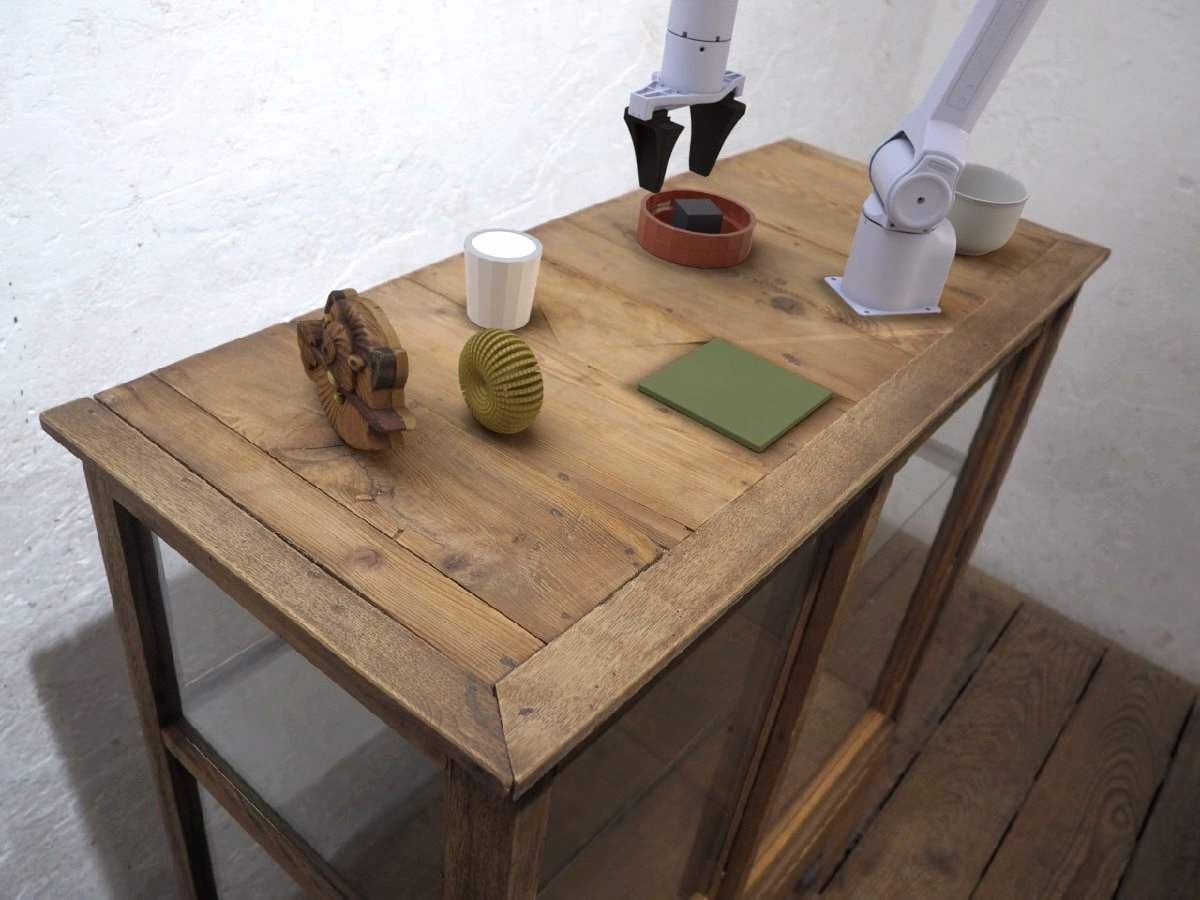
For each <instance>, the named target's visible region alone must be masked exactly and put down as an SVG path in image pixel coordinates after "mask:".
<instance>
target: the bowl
mask: <svg viewBox="0 0 1200 900" xmlns="http://www.w3.org/2000/svg"><path fill="white" fill-rule="evenodd" d="M675 199H710V200H711V201H712V202H713V203H714V204H715V206H716V207H717V208H718V209H719V210H720V211H721V212H722V213H723V214H724V216H723V221H722V226H721V231H720V234H705V233H697V232H691V231H687V230H683V229H679V228H675V227H673V226H670V225H671V219H672V214H673V208H674V202H675ZM757 223H758V221H757V218H756V214H755V212H753V211H752V210H751V209H750V208H749V206H747V205H745V204H744V203H742V202H740V201H738V200H736V199H734V198H732V197H729V196H726V195H724V194H722V193H716V192H713V191H708V190H704V189H698V188H689V187H668V188H661V190H660V192H659V193H656V194H655V193H652V192H649V193H646V194H645V195H644V196H643V197H642V198H641V199H640V201H639V207H638V213H637V221H636V226H635V240H636V241H637V242H638V244H639V245H640V247H641V248H643V249H644V250H646V251H648V252H649V253H650V254H651V255H653V256H655V257H658V258H660V259H662V260H665V261H667V262H670V263H675V264H677V265H678V264H679V265H682V266H686V267H693V268H701V269H715V268H716V269H717V268H718V269H720V268H727V267H732V266H736V265H738V264H741V263H742V262H744V261H745V260H747V258H748V257H749V255H750V253H751V249H752V247H753V246H752V245H753V241H754V237H755V233H756V229H757V228H756V227H757Z"/></svg>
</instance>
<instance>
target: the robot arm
mask: <svg viewBox="0 0 1200 900" xmlns="http://www.w3.org/2000/svg"><path fill="white" fill-rule="evenodd" d="M1049 2H1050V0H977V2H976V3H975V5H974V7H973V9H972V10H971V12H970V14H969V16H968V17H967V19H966V21H965V23H964V25H963V27H962V28H961V30H960V32H959V33H958V36H957V37H956V39H955V41H954V43H953V45H952V46H951V47H950V50H949V52H948V53H947V55H946V57H945V59H944V60H943V62H942V63H941V65H940V67H939V69H938V71H937V73H936V75H935V76H934V78H933V80H932V82H931V84H930V86H929V87H928V89H927V91H926V93H925V94H924V97H923V98H922V100H921V102H920V104H919V105H918V106H917V107H916V108H915V109H913V110H912V111H910V112H909V113H907V114H906V115H905V116H903V117H902V118H901V120H900V122H899V123H898V125H897V127H896V128H895V130H894V131H893V132H892V133H891V134H890V135H889V136H888V137H886V138H885V139H884V140H883V141H881V142H880V143H879V144H878V145H877V146H876V147H875V148H874V150H873V151H872V153H871V155H870V157H869V160H868V165H867V175H868V178H869V182H870V183H871V185H872V187H873V188H872V191H871V193H870V194H869V196H868V197H867V198H866V199H865V201H864V202H863V204H862V208H861V212H860V215H859V219H858V222H857V225H856V229H855V233H854V237H853V240H852V244H851V247H850V251H849V254H848V258H847V261H846V266H845V268H844V273H843V276H826V277H824V281H825V283H827V285H828V286H830V288H831V289H832V290H834V292H835V293H836V294H837V295H838V296H839V297H840V298H842V300H843V301H844V302H845V303H846V304H848V305H849V307H850V308H851V309H852V310H853V311H854V312H855V313H856V314H857V315H859V316H861V317H873V316H874V317H875V316H892V315H913V314H935V313H939V314H941V313H942V309H941V308H940V307H939V306H938V305H939V301H940V299H941V296H942V293H943V290H944V288H945V284H946V282H947V279H948V276H949V273H950V270H951V267H952V264H953V261H954V258H955V255H956V253H955V250H956V235H955V231H954V228H953V226H952V224H951V223H950V222H949V220H948V219H947V218H945V217H946V216H947V214H948V213H949V212H950V210H951V208H952V206H953V203H954V199H955V189H956V184H957V181H958V179H959V177H960V175H961V173H962V171H963V170H964V168H965V165H966V161H967V156H968V145H969V139H970V134H971V133H972V131H973V129H974V128H975V126H976V124H977V122H978V121H979V119H980V118H981V116H982V114H983V113H984V111H985V109H986V108H987V106H988V104H989V103H990V101H991V99H992V97H993V96H994V94H995V92H996V91H997V90H998V87H999V86H1000V84H1001V82H1002V81H1003V79H1004V77H1006V74H1007V72H1008V71H1009V69H1010V67H1011V66H1012V64H1013V62H1014V60H1015V59H1016V57H1017V55H1019V53H1020V50H1021V49H1022V47H1023V45H1024V43H1025V42H1026V40H1027V39H1028V37H1029V35H1030V34H1031V32H1032V30H1033V28H1034V27H1035V26H1036V24H1037V22H1038V20H1039V18H1040V17H1041V15H1042V14H1043V12H1044V10H1045V8H1046V7H1047V5H1048V4H1049ZM738 5H739V0H670V7H669V11H668V12H669V13H668V19H667V25H666V26H667V28H666V34H665V41H664V49H663V53H662V55H663V56H662V61H661V66H660V67H661V68H660V70H657V71H653V72H651V78H650V80H651V82H649V83H647V84H646V85H645V86H643V87H641V88H640V89H637V90H635V91H631V92H630V97H629V103H628V105H627V106H625V107H624V112H623V121H624V123H625V125H626V127H627V130H628V132H629V135H630V139H631V140H632V144H633V150H634V154H635V160H636V169H637V179H638V187H639V188H641V189H643V190H645V191H647V192H649V193H651V192H652V193H655V194H656V193H659V192H660V190H662V189H663V185H664V183H665V178H666V174H667V170H668V166H669V162H670V158H671V156H672V153H673V150H674V148H675V146H676V143H677V141H678V139H679V138H680V136H681V135H682V133H683V131H684V130H685V128H686V127H685V126H684V125H682V124H680V123H678V122H675V121H673V120H671V119H672V118H671V116H669V112H670V111H671V112H672V111H674V110H679V109H682V108H685V107H686V108H687V107H689V114H690V142H689V150H688V151H689V152H688V171H689V172H692V173H694V174H696V175H699V176H701V177H704V178H707V177H709V176H710V174H711V172H712V171H713V168H714V166H715V165H716V162H717V159H718V157H719V155H720V153H721V150H722V149H723V147H724V145H725V143H726V141H727V139H728V137H729V136H730V134H731V132H732V131H733V129H734V128H735V127H736V125H737V124H738V123H739V121H740V120H741V119H742V118H743V117H744V116H745V115H746V111H747V104H746V103H744V102H742V101H739V100H738V99H735V98H739V97H743V92H744V87H745V82H746V77H747V76H746V75H745V74H742V73H739V72H737V71H733V70H730V69H727V66H728V59H729V53H730V48H731V43H732V38H733V31H734V26H735V21H736V16H737V10H738Z"/></svg>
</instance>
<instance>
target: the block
mask: <svg viewBox="0 0 1200 900" xmlns="http://www.w3.org/2000/svg"><path fill="white" fill-rule="evenodd" d="M723 216H724V214H723V213H722V212H721V211H720V210H719V209H718V208H717V207H716V206H715V204H714V203H713V202H712V201H711V200H710V199H675V202H674V208H673V214H672V219H671V225H670V226H673V227H675V228H679V229H683V230H687V231H691V232H697V233H705V234H720V231H721V226H722V221H723Z"/></svg>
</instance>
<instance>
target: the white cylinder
mask: <svg viewBox="0 0 1200 900" xmlns="http://www.w3.org/2000/svg"><path fill="white" fill-rule="evenodd" d="M543 249H544V245H543V244H542V243H541V242H540V240H539V239H538V238H536V237H534V236H532V235H531V234H529V233H526V232H524V231H519V230H516V229H512V228H502V227H494V228H482V229H479V230H475V231H472V232H471V233H470V234H468V235H467V236H465V238H464V242H463V257H464V275H465V277H464V279H465V295H466V296H465V297H466V314H467V317H468V319H469V320H470V321H471V322H472V323H474V324H475V325H477V326H478V327H481V328H484V329H489V328H498V329H499V328H501V329H505V330H508V331H515V330H517V329H520V328H523V327H525V326H526V325H527V324H528V323H529V322H530V318H531V312H532V307H533V304H534V303H533V302H534V297H535V292H536V287H537V281H538V277H539V272H540V266H541V261H542V255H543Z"/></svg>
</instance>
